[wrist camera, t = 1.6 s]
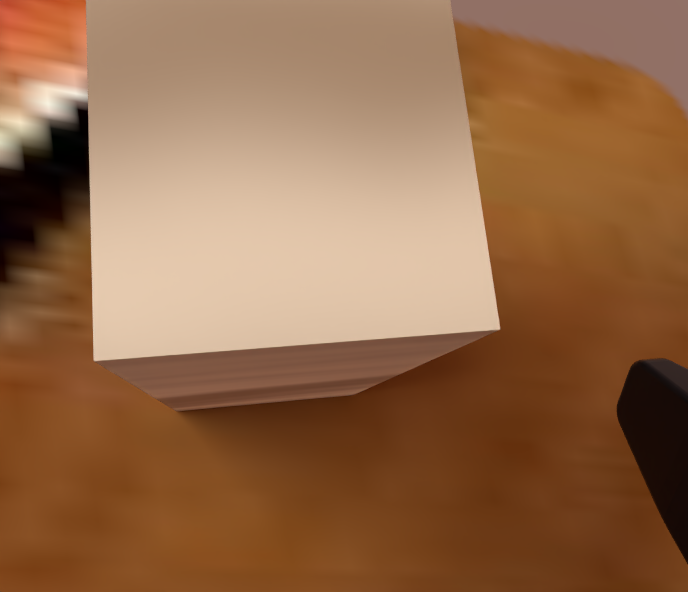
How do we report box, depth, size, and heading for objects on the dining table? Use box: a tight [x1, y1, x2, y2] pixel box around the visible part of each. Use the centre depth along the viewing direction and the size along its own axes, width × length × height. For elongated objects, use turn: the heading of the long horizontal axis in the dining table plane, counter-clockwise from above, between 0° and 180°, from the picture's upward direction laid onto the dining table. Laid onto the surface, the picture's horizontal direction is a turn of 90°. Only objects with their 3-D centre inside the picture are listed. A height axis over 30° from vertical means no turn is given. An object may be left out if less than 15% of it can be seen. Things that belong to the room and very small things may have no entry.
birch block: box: [86, 0, 500, 411], centre depth 14 cm, size 5×5×11 cm
